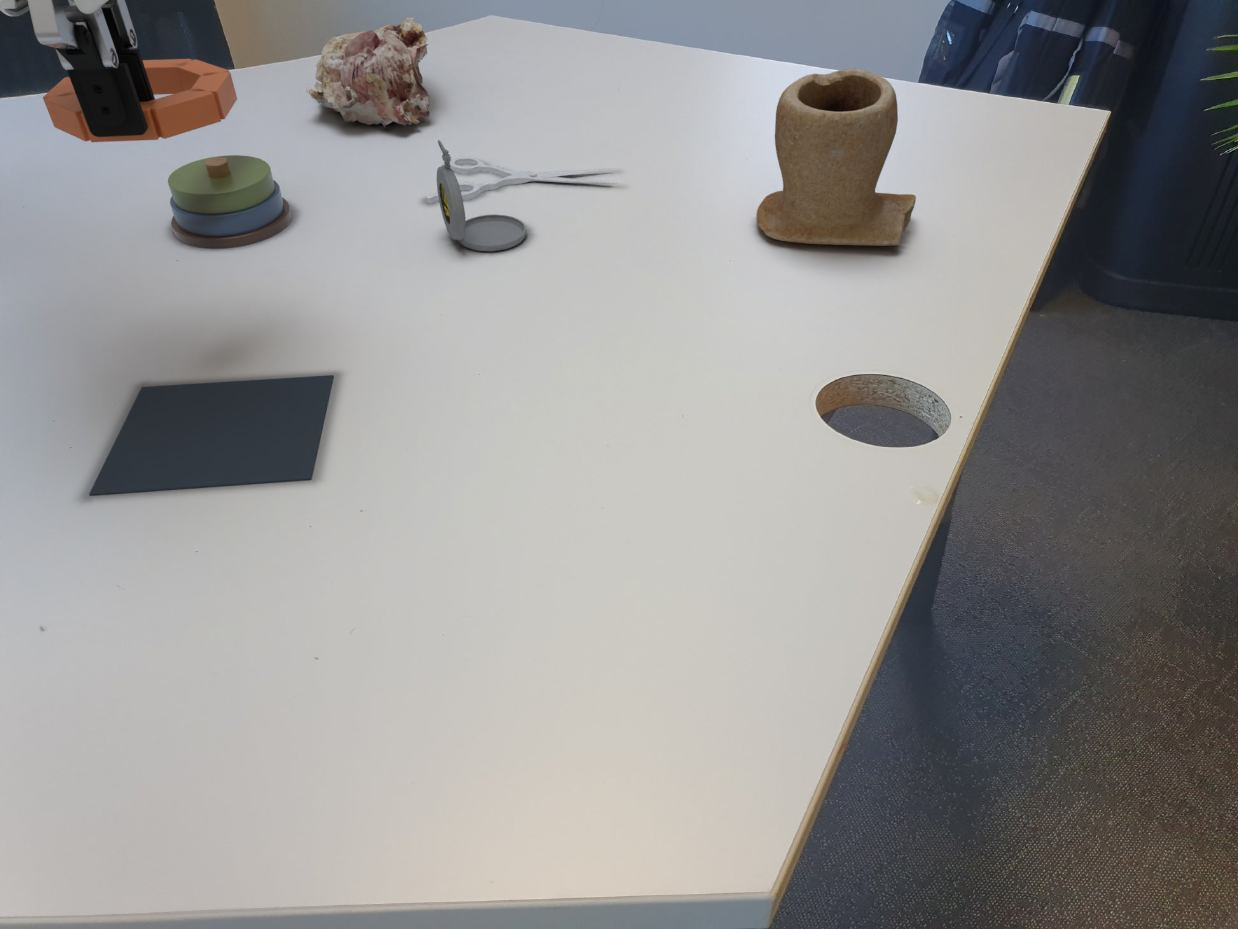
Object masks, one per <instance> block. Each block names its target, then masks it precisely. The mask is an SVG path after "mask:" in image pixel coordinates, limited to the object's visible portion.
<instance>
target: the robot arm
mask: <svg viewBox="0 0 1238 929" xmlns="http://www.w3.org/2000/svg"><path fill="white" fill-rule="evenodd" d="M67 1H68V4H69V5H63V0H0V12H1V13H3V14H5V15H6V16H9V17H20V16H22V15H24V14H26V13H27V12H29V14H30V19H31V22H32V26H33V32H34V35H35V38H36V40H37V42H38V43H39V44H41V45H43V46H47V47H51V48H53V49H55V52H56V54H57V57H58V59H59V62H60V64H61V67H62V68H63V69H64V70H65V71H66V72H67V74H68V77H70V80H71V83H72V85H73V88H74V90H75V93H76V96H77V98H78V101H79V104H80V106H81V109H82V112H83V114H84V117H85V119H86V122H87V125H88V127H89V130H90V132H91V133H92V134H93V135H94V136H96V137H111V136H133V135H143V134H144V133H145V132H146V131H147V129H148V125H147V122H146V119H145V116H144V113H143V111H142V108H141V105H140V102H147V101H151V100H155V99H156V97H155V95H154V94H153V91H152V88H151V85H150V82H149V79H148V76H147V73H146V70H145V67H144V63H143V60H144V59H143V58H142V54H141V51H140V49H137V48H138V38H137V34H136V30H135V28H134V25H133V21H132V18H131V16H130V13H129V12H130V11H129V9H128V5H127V2H128V1H127V0H67Z"/></svg>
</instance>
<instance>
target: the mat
mask: <svg viewBox="0 0 1238 929" xmlns="http://www.w3.org/2000/svg"><path fill="white" fill-rule="evenodd" d="M334 378H335V377H334V374H329V375H328V374H327V375H314V376H313V375H312V376H296V377H280V378H265V379H249V380H232V381H231V380H230V381H215V382H214V381H213V382H200V383H199V382H197V383H183V384H171V385H170V384H168V385H152V386H150V385H149V386H141V388H140V390H139V392H138V393H137V396H136V397H135V400H134V402H133V404H132V406H131V408H130V410H129V412H128V414H127V416H126V417H125V420H124V422H123V424H122V426H121V429H120V430H119V433H118V434H117V437H116V438H115V441H114V442H113V444H112V447H111V449H110V450H109V452H108V455H107V457H106V458H105V461H104V463H103V464H102V467H101V468H100V471H99V473H98V475H97V477H96V479H95V481H94V483H93V485H92V488H91V489H90V492H89V493H88V495H89V496H90V497H94V496H95V497H97V496H107V495H108V496H110V495H122V494H136V493H139V494H140V493H151V492H166V491H179V490H180V491H181V490H194V489H207V488H220V487H235V486H249V485H262V484H274V483H275V484H277V483H290V482H292V483H293V482H305V481H312V480H313V476H314V470H315V465H316V461H317V457H318V451H319V447H320V442H321V437H322V433H323V430H324V429H323V428H324V424H325V419H326V414H327V411H328V405H329V400H330V396H331V391H332V387H333V382H334Z"/></svg>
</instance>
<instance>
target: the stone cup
mask: <svg viewBox="0 0 1238 929" xmlns="http://www.w3.org/2000/svg"><path fill="white" fill-rule="evenodd" d="M897 100H898V99H897V94H896V91H895V89H894V87H893V85H892V84H891V82H889V81H888V79H886V78H884V77H883V76H881V75H879V74H877V73H874V72H872V71H868V70H862V69H857V68H847V69H846V68H845V69H838V70H836V71H832V72H830V73H829V72H828V73H811V74H806V75H804V76H802V77H800V78H798V79H796V80H795V81H794V82H792V83H790V84H789V85H788V86H787V87H786V88H785V89H784V91H782V93H781V95H780V97H779V98H778V102H777V105H776V111H775V123H774V124H775V125H774V145H775V146H774V147H775V153H776V158H777V161H778V166H779V170H780V174H781V180H782V190H778V191H777V190H776V191H774V192H772V193H769V194H768V195H766V196H765V197H764V198H763V199H762V201H761V202H760V204H759V205H758V207H757V210H756V217H755V219H756V224H757V226H758V227H759V229H761V230H762V231H763V232H764V235H765V236H766V237H769V238H771V239H774V240H777V241H781V242H788V243H789V242H790V243H799V244H809V245H834V246H875V247H876V246H879V247H885V246H886V247H891V246H898V245H900V244H901V242H902V238H903V235H904V232H905V231H906V229H907V228H908V226H909V224H910V221H911V218H912V214H913V211H914V209H915V204H916V201H917V196H916V195H915V194H908V193H907V194H906V193H905V194H904V193H903V194H902V193H901V194H899V193H889V192H887V193H886V192H876V189H877V184H878V182H879V179H880V176H881V175H882V174H881V173H882V172H883V168H884V166H885V163H886V161H887V158H888V156H889V153H890V151H891V148H892V146H893V142H894V140H895V137H896V134H897V129H898V128H897V127H898V122H899V115H898V114H899V113H898V111H899V110H898V101H897Z"/></svg>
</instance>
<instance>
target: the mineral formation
mask: <svg viewBox="0 0 1238 929" xmlns="http://www.w3.org/2000/svg"><path fill="white" fill-rule="evenodd" d="M427 41H428V37H427V36H426V34H425V32H424V30H423V26H422V24H421V23H419V22H415V20H414V17H406V18H405V19H404V20H403V22H401V23H400V24H397V25H396V26H395V25H393V24H390V23H389V24H387V25H384V26H382V27H379V28H377V29H375V30H372V29H370V30H366V31H357V32H352V33H345V34H339V35H335V36H333V37H330V39H328V42H325V45H324V46H323V48H322V50H321V53H320V54H321V55H320V58H319V59H318V61H317V62H316V64H315V67H316V68H315V69H316V71H315V80H316V82H315V84H314V89H315V90H316V91H315V90H314V89H313V88H311V87H305V92H306V93H308V94H309V95H310V96H311V98H312V99H313V100H314V101H316V102H317V104H321V105H322V106H323V107H325V108H328V109H329V108H330V109H332V110H333V111H334V112H339V113H340V115H341V117H342V119H343V121H344V122H345V123H352V122H353V123H354V122H356V121H357V122H359V123H362V124H366V125H368V126H371V125H379V124H381V125H382V126H383V127H384V128H386V126H388V125H389V124H392V123H396V124H399V125H403V126H407V125H409V126H411V125H412V124H414V125H418V124H419V123H420V118H421V117H422V118H428V117H429V116H430V115H431V113H430V111H429V110H428V107H429V106H431V105H430V96H429V94H428V91H427V90H426V89H425V87H424V86H423V85H422V84H423V75H422V73H421V70H420V66H419V63H421V61H423V59H424V58H425V56H426V55H428V48H427V47H428V46H429V44H428V43H427Z"/></svg>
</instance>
